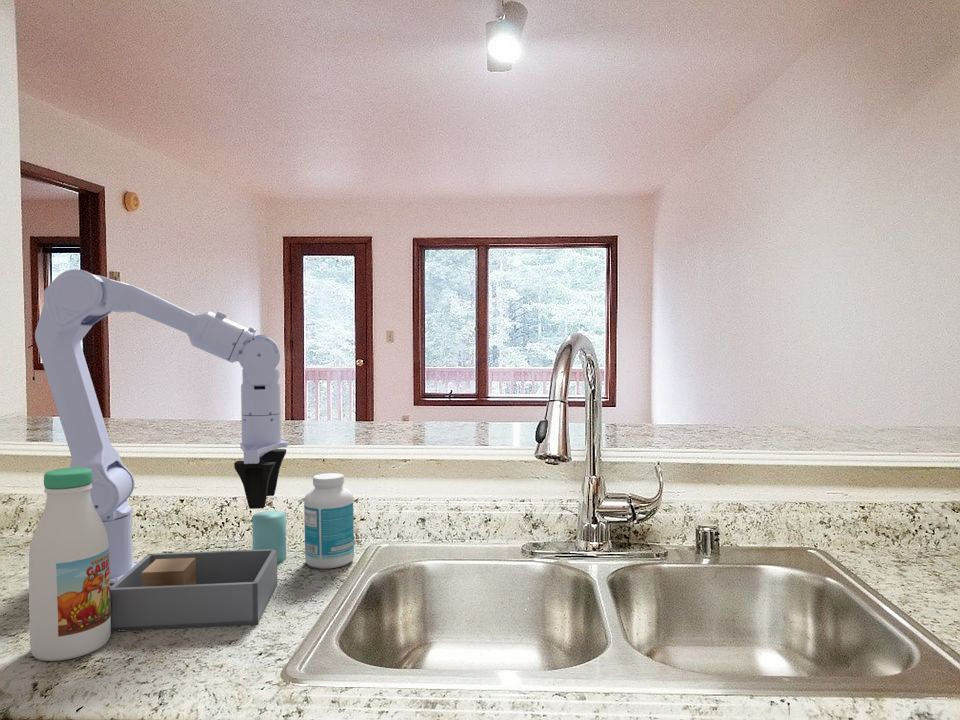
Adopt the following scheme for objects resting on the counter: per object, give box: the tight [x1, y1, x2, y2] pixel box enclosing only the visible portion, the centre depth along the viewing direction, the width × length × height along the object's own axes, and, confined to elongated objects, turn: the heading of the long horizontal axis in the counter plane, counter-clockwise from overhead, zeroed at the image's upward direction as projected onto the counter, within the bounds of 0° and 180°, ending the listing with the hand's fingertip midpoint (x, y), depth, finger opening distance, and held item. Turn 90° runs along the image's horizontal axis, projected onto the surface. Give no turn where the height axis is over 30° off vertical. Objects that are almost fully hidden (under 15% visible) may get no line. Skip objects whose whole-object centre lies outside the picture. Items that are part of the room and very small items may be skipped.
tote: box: [110, 549, 278, 632], centre depth 85 cm, size 17×13×5 cm
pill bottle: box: [303, 472, 355, 570], centre depth 102 cm, size 8×7×14 cm
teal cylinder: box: [251, 510, 287, 564], centre depth 103 cm, size 5×5×7 cm
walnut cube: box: [142, 558, 196, 587], centre depth 85 cm, size 5×5×5 cm
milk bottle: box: [28, 467, 112, 662], centre depth 74 cm, size 8×8×20 cm
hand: (262, 501), depth 102 cm, fingers open, 7 cm apart
